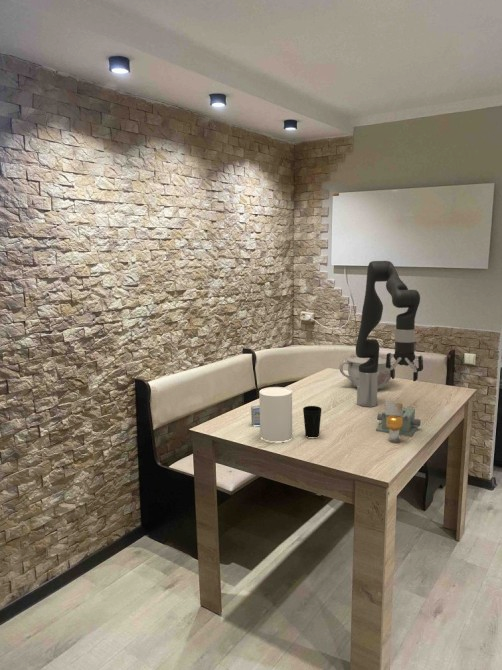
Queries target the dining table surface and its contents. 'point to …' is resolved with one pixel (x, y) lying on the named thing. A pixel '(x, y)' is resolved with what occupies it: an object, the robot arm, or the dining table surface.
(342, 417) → the dining table surface
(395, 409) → the bar
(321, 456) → the dining table surface
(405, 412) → the grey-green knobbed device
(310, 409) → the cup
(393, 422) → the orange domed cylinder
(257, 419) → the medicine box
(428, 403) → the dining table surface
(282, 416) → the canister
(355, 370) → the chamber pot
